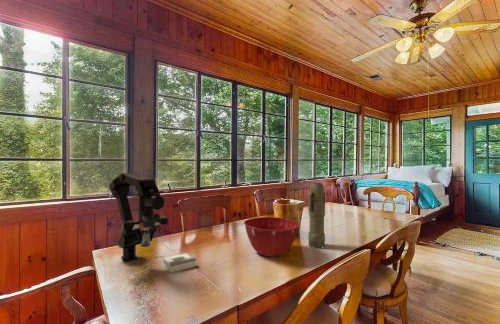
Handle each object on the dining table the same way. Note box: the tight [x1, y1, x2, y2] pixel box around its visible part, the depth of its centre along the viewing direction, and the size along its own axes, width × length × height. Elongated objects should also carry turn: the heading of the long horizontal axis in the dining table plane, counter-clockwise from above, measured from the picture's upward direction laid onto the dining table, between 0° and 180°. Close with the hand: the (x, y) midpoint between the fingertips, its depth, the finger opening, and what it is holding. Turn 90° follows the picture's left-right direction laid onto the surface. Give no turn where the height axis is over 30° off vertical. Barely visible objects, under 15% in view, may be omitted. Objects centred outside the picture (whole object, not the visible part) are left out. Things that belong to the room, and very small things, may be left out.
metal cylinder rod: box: [140, 228, 151, 248], centre depth 114 cm, size 4×4×7 cm
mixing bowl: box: [243, 216, 300, 258], centre depth 133 cm, size 28×28×16 cm
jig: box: [162, 252, 197, 273], centre depth 116 cm, size 11×11×4 cm
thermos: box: [307, 182, 326, 249], centre depth 143 cm, size 9×12×35 cm
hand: (145, 241), depth 114 cm, fingers closed on metal cylinder rod, 4 cm apart
